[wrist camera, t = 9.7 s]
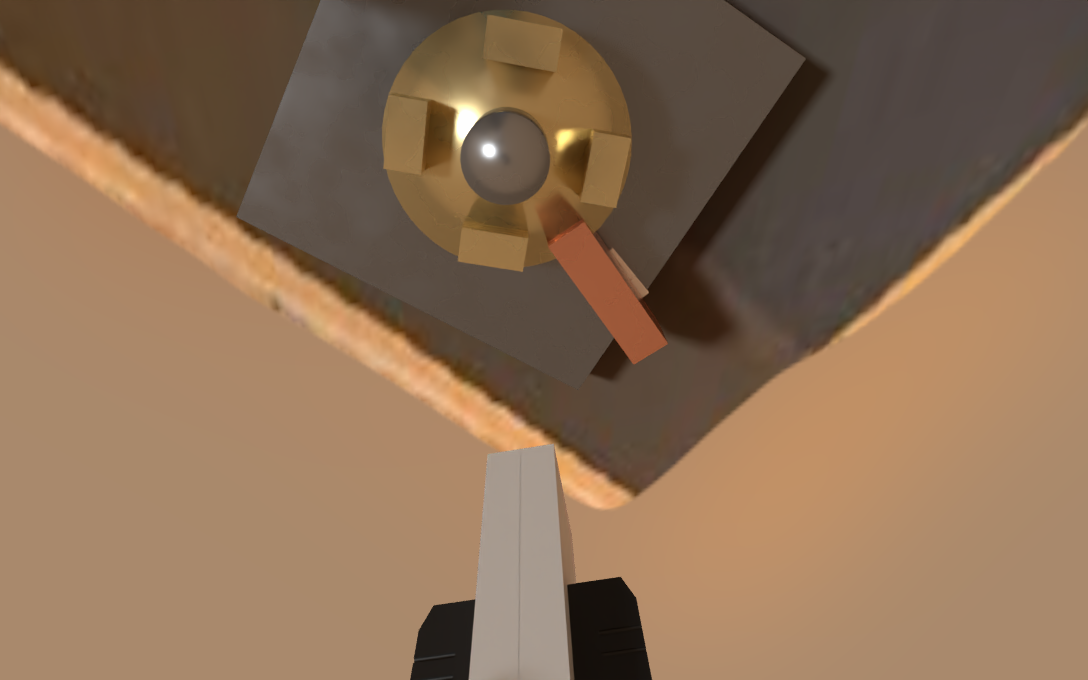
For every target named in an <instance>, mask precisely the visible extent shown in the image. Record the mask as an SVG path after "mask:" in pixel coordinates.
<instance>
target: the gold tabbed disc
mask: <svg viewBox="0 0 1088 680" xmlns="http://www.w3.org/2000/svg"><path fill="white" fill-rule="evenodd" d="M499 107H513V108H518V109H521V110H523V111H525V112H527V113H529V114H530V115H531V116H533V117H534V118H535V119H536V120H537V121H538V122H539V124H540V125H541V126H542V128H543V130H544V132H545V134H546V137H547V141H548V147H549V152H550V168H549V172H548V175H547V178H546V180H545V182H544V184H543V185H542V187H541V188H540V189H539V191H538V192H537V193H536V194H535V195H533V196H532V197H531V198H529V199H528V200H526V201H523V202H521V203H518V204H513V205H499V204H494V203H491V202H489V201H487V200H485V199H483V198H481V197H480V196H479V195H477V194H476V193H475V192H474V191H473V190H472V189H471V188H470V186H469V185H468V183H467V181H466V180H465V178H464V175H463V172H462V169H461V162H460V154H461V147H462V144H463V141H464V139H465V137H466V135H467V133H468V132H469V130H470V129H471V127H472V126H473V124H474V123H475V122H476V120H477V119H478V118H479V117H481V116H482V115H483V114H485V113H486V112H488V111H490V110H492V109H495V108H499ZM382 147H383V155H384V167H383V169H386V170H387V174H388V178H389V180H390V183H391V185H392V188H393V190H394V193H395V195H396V197H397V198H398V200H399V202H400V204H401V206H402V208H403V209H404V210H405V212H406V213H407V215H408V216H409V217H410V219H411V220H412V221H413V222H414V224H415V225H416V226H417V227H418V228H419V229H420V230H421V231H422V232H423V233H424V234H425V235H426V236H427V237H429V238H430V239H431V240H432V241H433V242H434V243H436V244H437V245H439V246H440V247H442V248H443V249H445V250H446V251H448V252H450V253H452V254H454V255H456V256H458V262H464V263H470V264H476V265H483V266H489V267H495V268H502V269H508V270H514V271H521V272H523V267H528V266H534V265H538V264H542V263H545V262H549V261H551V260H554V259H557V260H558V261H559V263H560V264H561V266H562V267H563V268H564V270H565V271H566V272H567V274H568V275H569V277H570V278H571V279H572V281H573V282H574V283H575V285H576V286H577V287H578V289H579V290H580V292H581V293H582V294H583V296H584V297H585V298H586V300H587V301H588V303H589V304H590V305H591V307H592V308H593V309H594V311H595V312H596V314H597V315H598V316H599V318H600V319H601V320H602V322H603V323H604V325H605V326H606V327H607V329H608V330H609V331H610V333H611V334H612V336H613V337H614V338H615V340H616V341H617V342H618V344H619V345H620V347H621V348H622V349H623V351H624V352H625V353H626V355H627V356H628V357H629V359H630V360H631V362H632V363H633V364H636V363H637V362H639V361H640V360H642V359H644V358H645V357H647V356H649V355H650V354H652V353H654V352H655V351H657V350H658V349H660V348H662V347H663V346H665V345H667V344H668V342H667V340H666V338H665V336H664V334H663V331H662V329H661V327H660V325H659V323H658V320H657V319H656V317H655V316H654V314H653V313H652V311H651V310H650V309H649V307H648V306H647V304H646V303H645V301H644V300H643V298H642V297H641V295H640V294H639V293H638V291H637V290H636V288H635V287H634V285H633V284H632V282H631V281H630V279H629V278H628V277H627V275H626V274H625V272H624V271H623V269H622V268H621V266H620V265H619V263H618V262H617V261H616V259H615V258H614V256H613V255H612V253H611V252H610V250H609V249H608V247H607V246H606V245H605V243H604V242H603V240H602V239H601V237H600V236H599V234H598V233H597V230H598V229H599V228H600V227H601V225H602V224H603V223H604V221H605V220H606V219H607V218H608V216H609V215H610V213H611V212H612V210H613V208H616V206H617V202H618V199H619V197H620V195H621V192H622V190H623V188H624V185H625V182H626V178H627V175H628V171H629V166H630V160H631V150H632V133H631V123H630V117H629V112H628V108H627V104H626V101H625V98H624V95H623V93H622V90H621V87H620V85H619V83H618V81H617V80H616V78H615V76H614V74H613V72H612V70H611V69H610V68H609V66H608V65H607V63H606V62H605V60H604V59H603V58H602V56H601V55H600V54H599V53H598V52H597V51H596V50H595V49H594V48H593V47H592V46H591V45H590V44H589V43H588V42H587V41H586V40H585V39H583V38H582V37H581V36H580V35H578V34H577V33H576V32H574V31H573V30H571V29H569V28H568V27H566V26H564V25H563V24H561V23H559V22H557V21H554V20H552V19H550V18H547V17H545V16H541V15H538V14H534V13H530V12H526V11H517V10H490V11H484V12H478V13H474V14H471V15H468V16H465V17H462V18H459V19H456V20H454V21H453V22H451V23H449V24H447V25H445V26H443V27H441V28H440V29H438V30H437V31H435V32H434V33H433V34H431V35H430V36H428V37H427V38H426V39H425V40H424V41H423V42H422V43H421V44H420V45H419V46H418V47H417V48H416V49H415V50H414V51H413V52H412V54H411V55H410V56H409V57H408V59H407V60H406V61H405V62H404V64H403V66H402V67H401V69H400V71H399V73H398V74H397V76H396V78H395V80H394V82H393V85H392V87H391V90H390V92H389V95H388V99H387V102H386V106H385V110H384V117H383V125H382Z"/></svg>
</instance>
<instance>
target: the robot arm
mask: <svg viewBox="0 0 1088 680" xmlns="http://www.w3.org/2000/svg"><path fill="white" fill-rule="evenodd" d="M575 577H576V576H575V565H574V554H573V544H572V534H571V530H570V524H569V519H568V514H567V510H566V504H565V499H564V494H563V489H562V484H561V479H560V474H559V469H558V463H557V458H556V453H555V448H554V444H550V445H543V446H537V447H531V448H524V449H518V450H511V451H505V452H499V453H492V454H488V456H487V468H486V480H485V493H484V504H483V516H482V529H481V539H480V552H479V563H478V576H477V588H476V599H475V600H469V601H462V602H455V603H448V604H441V605H434V606H433V607H432V609H431V611H430V613H429V614H428V616H427V618H426V619H425V621H424V623H423V624H422V626H421V628H420V630H419V632H418V638H417V644H416V650H415V655H414V663H413V667H412V673H411V679H410V680H652V677H651V672H650V668H649V662H648V657H647V652H646V647H645V641H644V636H643V631H642V626H641V621H640V616H639V610H638V606H637V600H636V597H635V596H634V595H633V593H632V592H631V591H630V589H629V588H628V586H627V585H626V584H625V582H624V581H623V580H622V578H621V577H616V578H609V579H603V580H596V581H589V582H582V583H576V578H575Z"/></svg>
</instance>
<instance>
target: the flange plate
mask: <svg viewBox="0 0 1088 680" xmlns="http://www.w3.org/2000/svg"><path fill="white" fill-rule="evenodd" d="M490 10H517V11H526V12H530V13H534V14H538V15H541V16H545V17H547V18H550V19H552V20H554V21H557V22H559V23H561V24H563V25H564V26H566V27H568V28H569V29H571V30H573V31H574V32H576V33H577V34H578V35H580V36H581V37H582V38H583V39H585V40H586V41H587V42H588V43H589V44H590V45H591V46H592V47H593V48H594V49H595V50H596V51H597V52H598V53H599V54H600V55H601V56H602V58H603V59H604V60H605V62H606V63H607V65H608V66H609V68H610V69H611V70H612V72H613V74H614V76H615V78H616V80H617V81H618V83H619V85H620V87H621V90H622V93H623V95H624V98H625V101H626V104H627V108H628V112H629V117H630V123H631V133H632V150H631V160H630V166H629V171H628V175H627V178H626V182H625V185H624V188H623V190H622V192H621V195H620V197H619V199H618V202H617V206H616V208H613V210H612V212H611V213H610V215H609V216H608V218H607V219H606V220H605V221H604V223H603V224H602V225H601V227H600V228H599V229H598V230H597V233H598V234H599V236H600V237H601V239H602V240H603V242H604V243H605V245H606V246H607V247H608V249H609V250H610V252H611V253H612V255H613V256H614V258H615V259H616V261H617V262H618V263H619V265H620V266H621V268H622V269H623V271H624V272H625V274H626V275H627V277H628V278H629V279H630V281H631V282H632V284H633V285H634V287H635V288H636V290H637V291H638V293H639V294H640V295H641V297H642V298H643V297H644V296H645V295H647V294H648V293H649V291H648V290H647V289H648V288H649V286H650V285H651V283H652V282H653V280H654V279H655V278H656V276H657V275H658V273H659V272H660V270H661V269H662V267H663V266H664V264H665V263H666V262H667V260H668V259H669V257H670V256H671V254H672V253H673V251H674V250H675V248H676V247H677V246H678V244H679V243H680V241H681V240H682V238H683V237H684V235H685V234H686V232H687V231H688V230H689V228H690V227H691V225H692V224H693V222H694V221H695V219H696V218H697V216H698V215H699V214H700V212H701V211H702V209H703V208H704V206H705V205H706V203H707V202H708V200H709V199H710V198H711V196H712V195H713V193H714V192H715V190H716V189H717V187H718V186H719V184H720V183H721V182H722V180H723V179H724V177H725V176H726V174H727V173H728V171H729V170H730V168H731V167H732V166H733V164H734V163H735V161H736V160H737V158H738V157H739V155H740V154H741V152H742V151H743V150H744V148H745V147H746V145H747V144H748V142H749V141H750V139H751V138H752V136H753V135H754V134H755V132H756V131H757V129H758V128H759V126H760V125H761V123H762V122H763V120H764V119H765V118H766V116H767V115H768V113H769V112H770V110H771V109H772V107H773V106H774V104H775V103H776V102H777V100H778V99H779V97H780V96H781V94H782V93H783V91H784V90H785V88H786V87H787V86H788V84H789V83H790V81H791V80H792V78H793V77H794V75H795V74H796V72H797V71H798V70H799V68H800V67H801V65H802V64H803V62H804V61H805V59H806V58H804V57H803V56H802V55H800V54H799V53H797V52H796V51H795V50H793V49H792V48H790V47H789V46H788V45H786V44H785V43H783V42H782V41H781V40H779V39H778V38H776V37H775V36H773V35H772V34H771V33H769V32H768V31H766V30H765V29H764V28H762V27H761V26H759V25H758V24H757V23H755V22H754V21H752V20H751V19H750V18H748V17H747V16H745V15H744V14H743V13H741V12H740V11H738V10H737V9H736V8H734V7H733V6H731V5H730V4H729V3H727V2H726V1H724V0H321V1H320V3H319V6H318V8H317V11H316V14H315V16H314V19H313V21H312V24H311V26H310V29H309V32H308V34H307V37H306V39H305V42H304V44H303V47H302V50H301V52H300V55H299V57H298V60H297V62H296V65H295V68H294V70H293V73H292V75H291V78H290V80H289V83H288V86H287V88H286V91H285V93H284V96H283V98H282V101H281V103H280V106H279V109H278V111H277V114H276V116H275V119H274V121H273V124H272V127H271V129H270V132H269V134H268V137H267V139H266V142H265V145H264V147H263V150H262V152H261V155H260V157H259V160H258V163H257V165H256V168H255V170H254V173H253V175H252V178H251V181H250V183H249V186H248V188H247V191H246V193H245V196H244V199H243V201H242V204H241V206H240V209H239V211H238V214H237V217H238V218H240V219H242V220H244V221H246V222H248V223H249V224H251V225H253V226H255V227H257V228H259V229H261V230H263V231H265V232H267V233H269V234H271V235H273V236H275V237H277V238H279V239H281V240H283V241H285V242H287V243H289V244H291V245H293V246H295V247H297V248H299V249H301V250H303V251H305V252H307V253H309V254H311V255H313V256H315V257H317V258H319V259H321V260H323V261H324V262H326V263H328V264H330V265H332V266H334V267H336V268H338V269H340V270H342V271H344V272H346V273H348V274H350V275H352V276H354V277H356V278H358V279H360V280H362V281H364V282H366V283H368V284H370V285H372V286H374V287H376V288H378V289H380V290H382V291H384V292H386V293H388V294H390V295H392V296H394V297H396V298H398V299H399V300H401V301H403V302H405V303H407V304H409V305H411V306H413V307H415V308H417V309H419V310H421V311H423V312H425V313H427V314H429V315H431V316H433V317H435V318H437V319H439V320H441V321H443V322H445V323H447V324H449V325H451V326H453V327H455V328H457V329H459V330H461V331H463V332H465V333H467V334H469V335H471V336H473V337H475V338H476V339H478V340H480V341H482V342H484V343H486V344H488V345H490V346H492V347H494V348H496V349H498V350H500V351H502V352H504V353H506V354H508V355H510V356H512V357H514V358H516V359H518V360H520V361H522V362H524V363H526V364H528V365H530V366H532V367H534V368H536V369H538V370H540V371H542V372H544V373H546V374H548V375H550V376H551V377H553V378H555V379H557V380H559V381H561V382H563V383H565V384H567V385H569V386H571V387H573V388H575V389H577V390H579V388H580V387H581V385H582V384H583V382H584V381H585V379H586V378H587V376H588V375H589V374H590V372H591V371H592V369H593V368H594V366H595V365H596V363H597V362H598V360H599V359H600V358H601V356H602V355H603V353H604V352H605V350H606V349H607V347H608V346H609V344H610V343H611V342H612V340H613V339H614V337H613V336H612V334H611V333H610V331H609V330H608V329H607V327H606V326H605V325H604V323H603V322H602V320H601V319H600V318H599V316H598V315H597V314H596V312H595V311H594V309H593V308H592V307H591V305H590V304H589V303H588V301H587V300H586V298H585V297H584V296H583V294H582V293H581V292H580V290H579V289H578V287H577V286H576V285H575V283H574V282H573V281H572V279H571V278H570V277H569V275H568V274H567V272H566V271H565V270H564V268H563V267H562V266H561V264H560V263H559V261H558V260H557V259H554V260H551V261H549V262H545V263H542V264H538V265H534V266H528V267H523V272H521V271H514V270H508V269H502V268H495V267H489V266H483V265H476V264H470V263H464V262H458V256H456V255H454V254H452V253H450V252H448V251H446V250H445V249H443V248H442V247H440V246H439V245H437V244H436V243H434V242H433V241H432V240H431V239H430V238H429V237H427V236H426V235H425V234H424V233H423V232H422V231H421V230H420V229H419V228H418V227H417V226H416V225H415V224H414V222H413V221H412V220H411V219H410V217H409V216H408V215H407V213H406V212H405V210H404V209H403V208H402V206H401V204H400V202H399V200H398V198H397V197H396V195H395V193H394V190H393V188H392V185H391V183H390V180H389V178H388V174H387V170H386V169H383V167H384V155H383V147H382V125H383V117H384V110H385V106H386V102H387V99H388V95H389V92H390V90H391V87H392V85H393V82H394V80H395V78H396V76H397V74H398V73H399V71H400V69H401V67H402V66H403V64H404V62H405V61H406V60H407V59H408V57H409V56H410V55H411V54H412V52H413V51H414V50H415V49H416V48H417V47H418V46H419V45H420V44H421V43H422V42H423V41H424V40H425V39H426V38H427V37H428V36H430V35H431V34H433V33H434V32H435V31H437V30H438V29H440V28H441V27H443V26H445V25H447V24H449V23H451V22H453V21H454V20H456V19H459V18H462V17H465V16H468V15H471V14H474V13H478V12H484V11H490ZM460 162H461V169H462V172H463V175H464V178H465V180H466V181H467V183H468V185H469V186H470V188H471V189H472V190H473V191H474V192H475V193H476V194H477V195H479V196H480V197H481V198H483V199H485V200H487V201H489V202H491V203H494V204H499V205H513V204H518V203H521V202H523V201H526V200H528V199H529V198H531V197H532V196H533V195H535V194H536V193H537V192H538V191H539V189H540V188H541V187H542V185H543V184H544V182H545V180H546V178H547V175H548V172H549V168H550V152H549V147H548V141H547V137H546V134H545V132H544V130H543V128H542V126H541V125H540V124H539V122H538V121H537V120H536V119H535V118H534V117H533V116H531V115H530V114H529V113H527V112H525V111H523V110H521V109H518V108H513V107H499V108H495V109H492V110H490V111H488V112H486V113H485V114H483V115H482V116H481V117H479V118H478V119H477V120H476V122H475V123H474V124H473V126H472V127H471V129H470V130H469V132H468V133H467V135H466V137H465V139H464V141H463V144H462V147H461V154H460Z"/></svg>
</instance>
